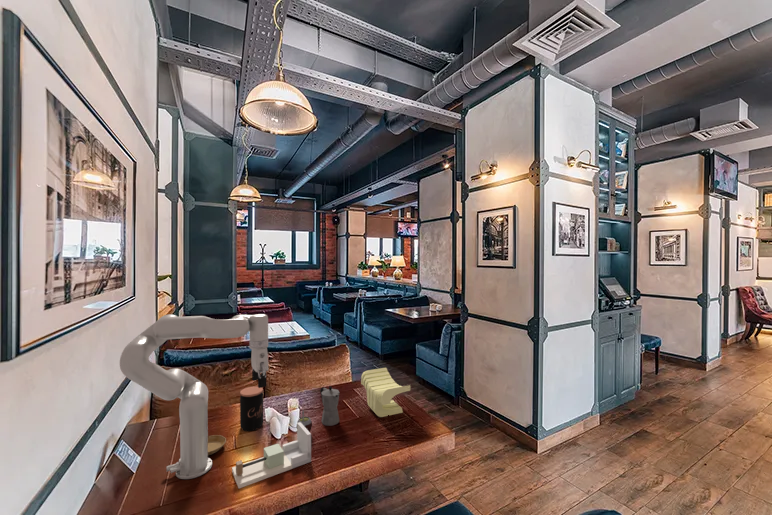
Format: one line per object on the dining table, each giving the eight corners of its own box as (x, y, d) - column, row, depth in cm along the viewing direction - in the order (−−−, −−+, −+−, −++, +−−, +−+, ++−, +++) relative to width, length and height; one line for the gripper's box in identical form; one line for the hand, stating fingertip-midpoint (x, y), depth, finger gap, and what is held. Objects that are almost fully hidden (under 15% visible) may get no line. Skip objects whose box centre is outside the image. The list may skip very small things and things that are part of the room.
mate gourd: (305, 430, 163) (305, 399, 163) (316, 436, 158) (316, 404, 158) (292, 436, 158) (292, 405, 158) (303, 442, 153) (303, 410, 153)
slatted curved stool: (361, 401, 195) (361, 371, 195) (386, 397, 202) (386, 367, 202) (382, 425, 168) (382, 390, 168) (410, 419, 174) (410, 385, 174)
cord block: (238, 480, 125) (238, 466, 125) (234, 470, 131) (234, 457, 131) (283, 463, 135) (283, 451, 135) (278, 455, 141) (278, 443, 141)
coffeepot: (345, 422, 171) (345, 387, 171) (330, 429, 164) (330, 393, 164) (328, 412, 182) (328, 379, 182) (313, 418, 175) (313, 384, 175)
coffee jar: (247, 434, 160) (247, 396, 160) (235, 427, 166) (235, 391, 166) (267, 425, 168) (267, 389, 168) (255, 419, 175) (255, 384, 175)
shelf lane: (238, 488, 123) (238, 457, 123) (232, 471, 133) (231, 442, 133) (311, 461, 139) (311, 433, 139) (300, 447, 149) (300, 422, 149)
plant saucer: (183, 462, 138) (183, 455, 138) (193, 443, 152) (193, 437, 152) (222, 456, 142) (222, 450, 142) (228, 438, 156) (228, 433, 156)
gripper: (273, 346, 139) (274, 387, 139) (262, 338, 153) (262, 375, 153) (254, 349, 135) (255, 392, 135) (245, 340, 149) (245, 379, 149)
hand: (259, 383), depth 144 cm, fingers open, 9 cm apart
